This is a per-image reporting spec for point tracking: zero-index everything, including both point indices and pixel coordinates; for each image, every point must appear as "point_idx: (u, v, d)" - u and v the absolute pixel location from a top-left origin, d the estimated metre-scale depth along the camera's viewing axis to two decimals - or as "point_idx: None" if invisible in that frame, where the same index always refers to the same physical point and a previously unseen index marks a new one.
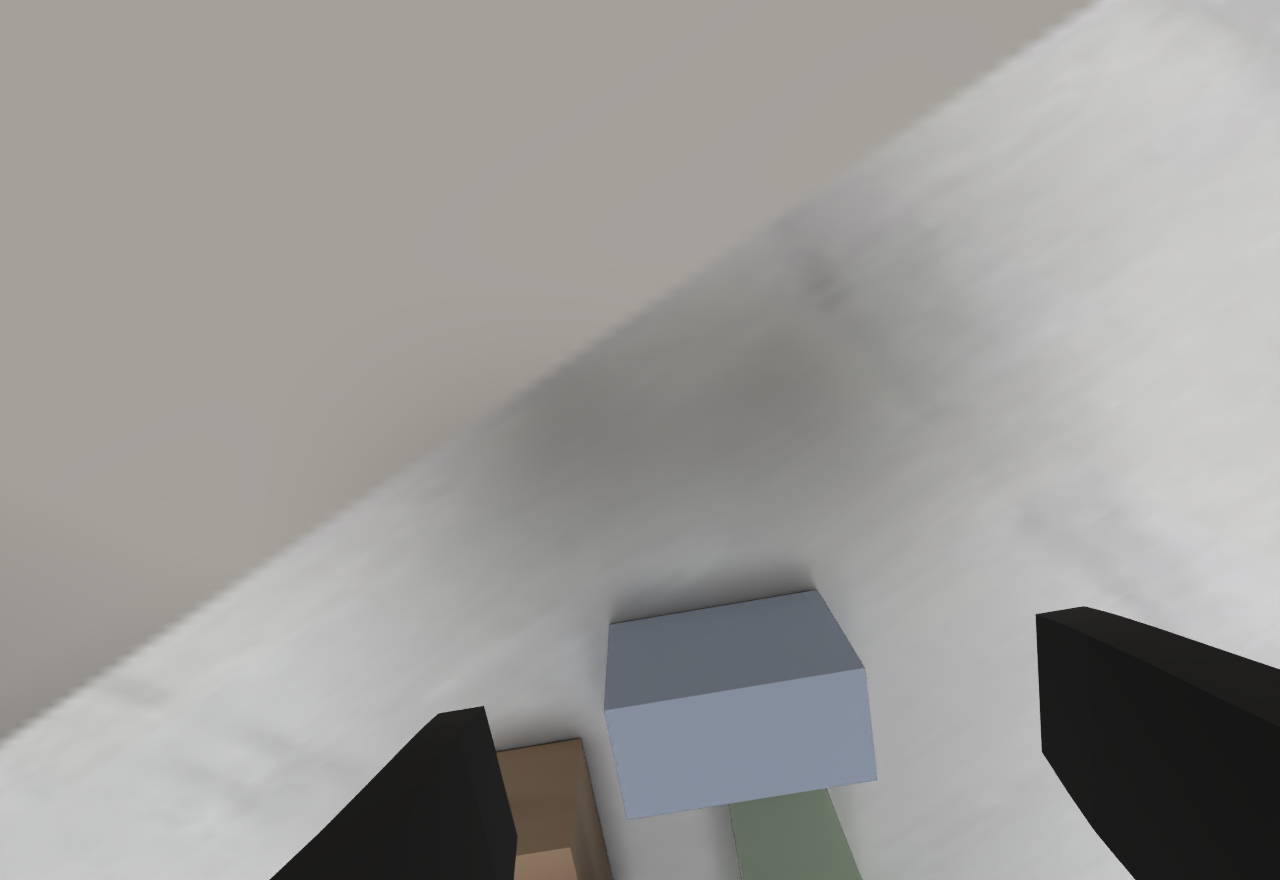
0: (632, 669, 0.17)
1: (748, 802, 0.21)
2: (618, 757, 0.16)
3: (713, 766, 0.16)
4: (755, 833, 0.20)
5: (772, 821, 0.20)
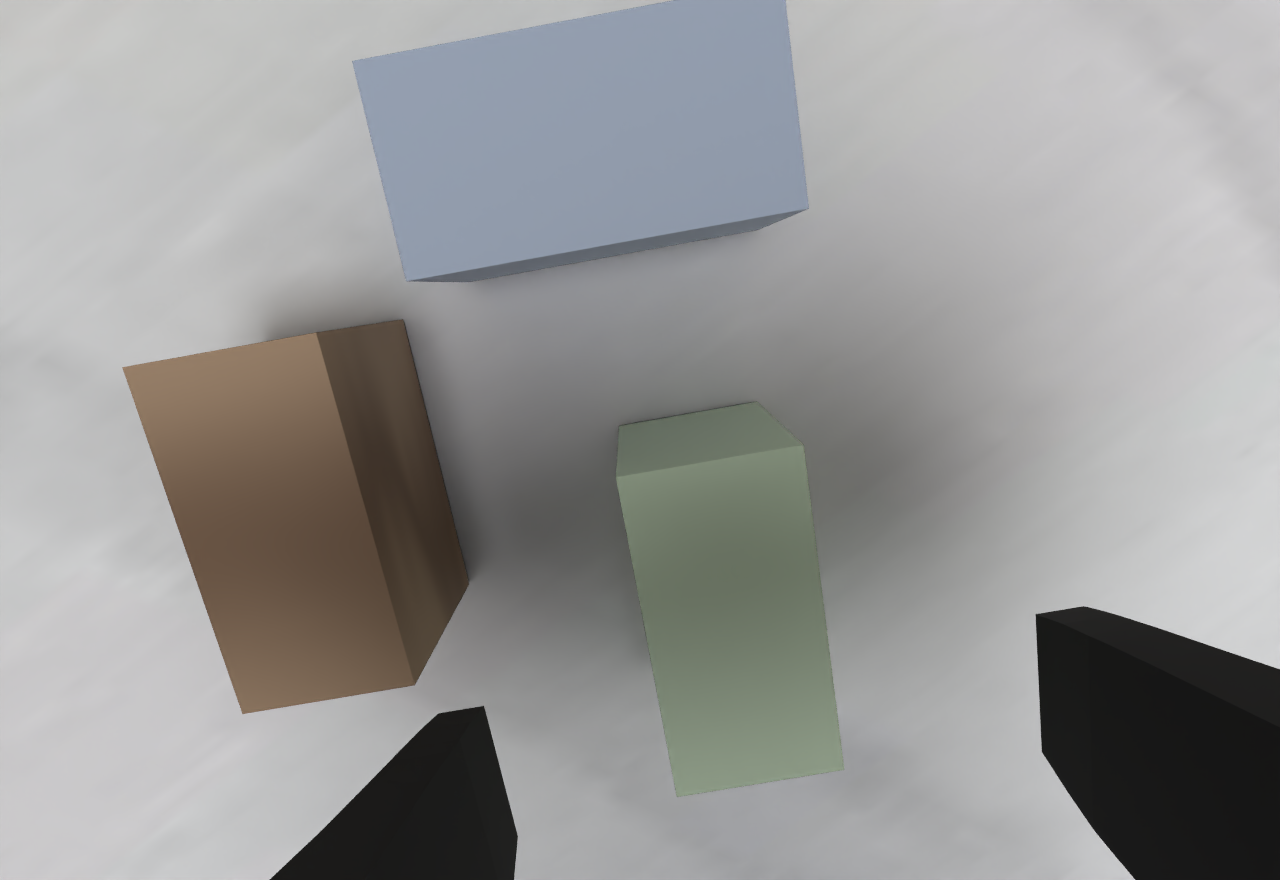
0: None
1: (646, 422, 0.14)
2: (382, 155, 0.10)
3: (541, 176, 0.10)
4: (647, 434, 0.13)
5: (675, 426, 0.14)
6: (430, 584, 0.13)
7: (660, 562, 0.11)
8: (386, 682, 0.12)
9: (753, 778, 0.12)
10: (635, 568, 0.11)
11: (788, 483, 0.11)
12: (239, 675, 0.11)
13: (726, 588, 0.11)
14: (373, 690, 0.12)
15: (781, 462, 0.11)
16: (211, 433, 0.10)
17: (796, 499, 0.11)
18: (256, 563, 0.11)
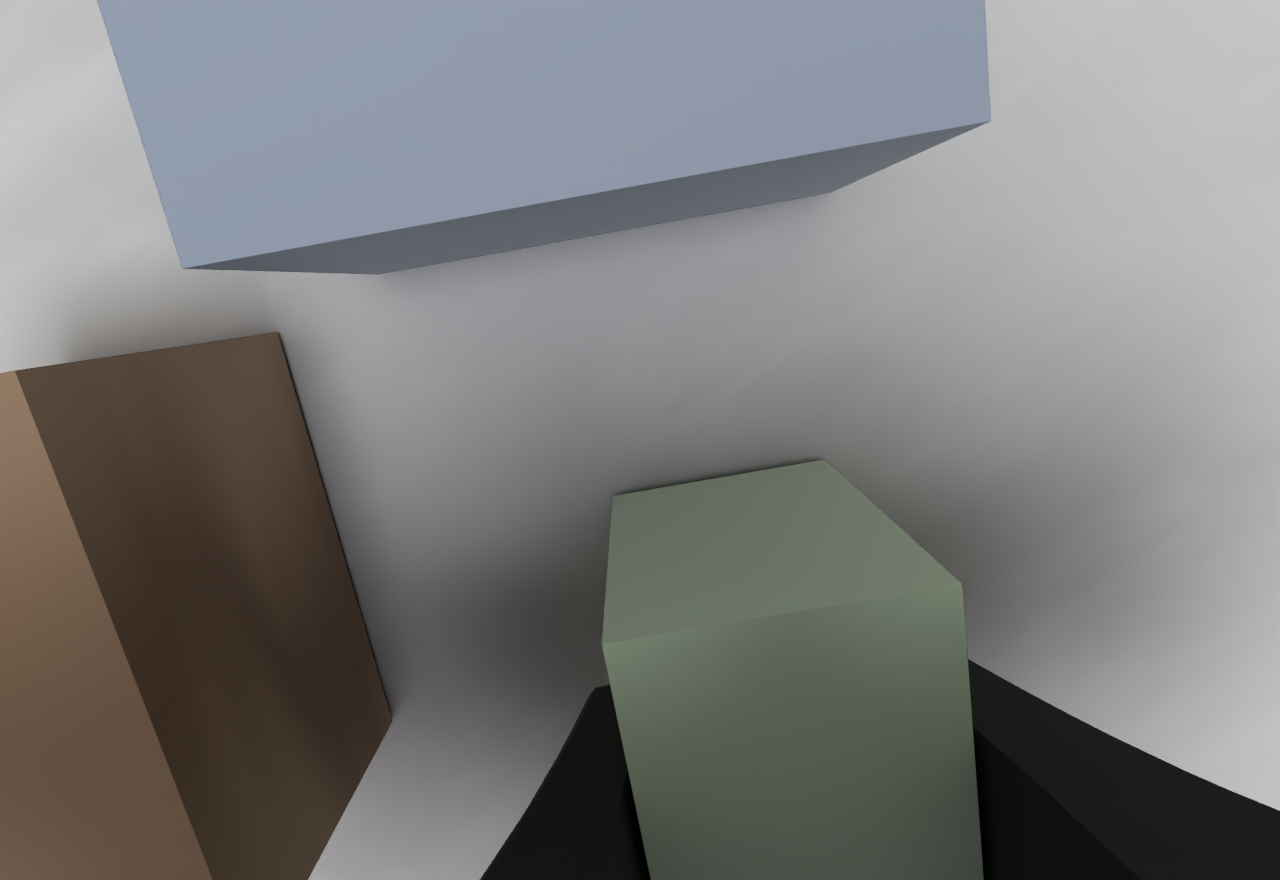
0: None
1: (655, 491, 0.09)
2: (112, 4, 0.05)
3: (444, 51, 0.05)
4: (658, 522, 0.08)
5: (702, 505, 0.09)
6: (308, 764, 0.08)
7: (685, 791, 0.06)
8: None
9: None
10: (639, 803, 0.06)
11: (929, 655, 0.06)
12: None
13: (805, 834, 0.06)
14: None
15: (917, 615, 0.06)
16: None
17: (942, 681, 0.06)
18: None
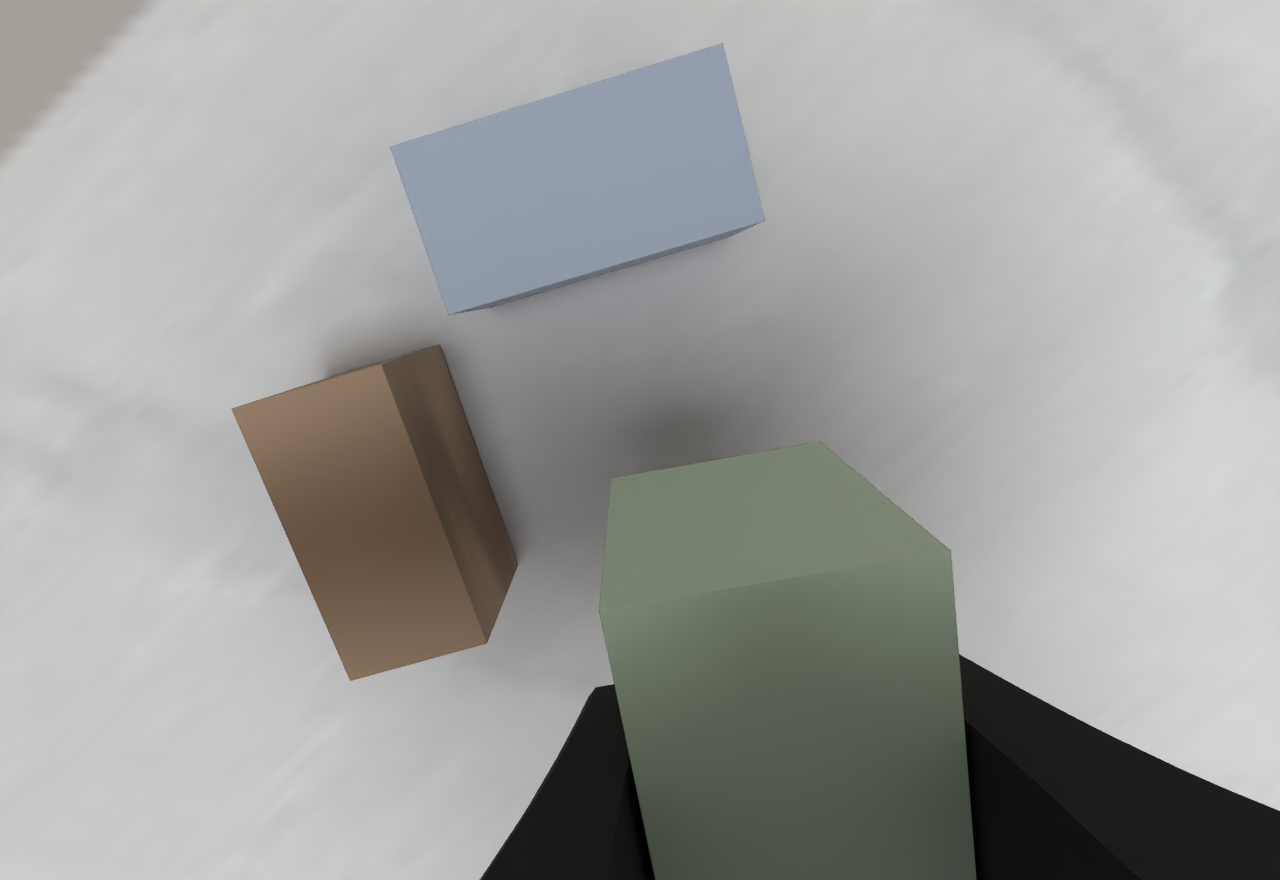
0: None
1: (652, 473, 0.10)
2: (420, 217, 0.12)
3: (547, 220, 0.12)
4: (655, 500, 0.08)
5: (698, 485, 0.09)
6: (488, 563, 0.16)
7: (681, 757, 0.06)
8: (463, 643, 0.14)
9: None
10: (636, 767, 0.06)
11: (919, 621, 0.06)
12: (345, 649, 0.14)
13: (799, 800, 0.06)
14: (454, 651, 0.14)
15: (906, 581, 0.06)
16: (305, 454, 0.13)
17: (932, 647, 0.06)
18: (350, 555, 0.14)
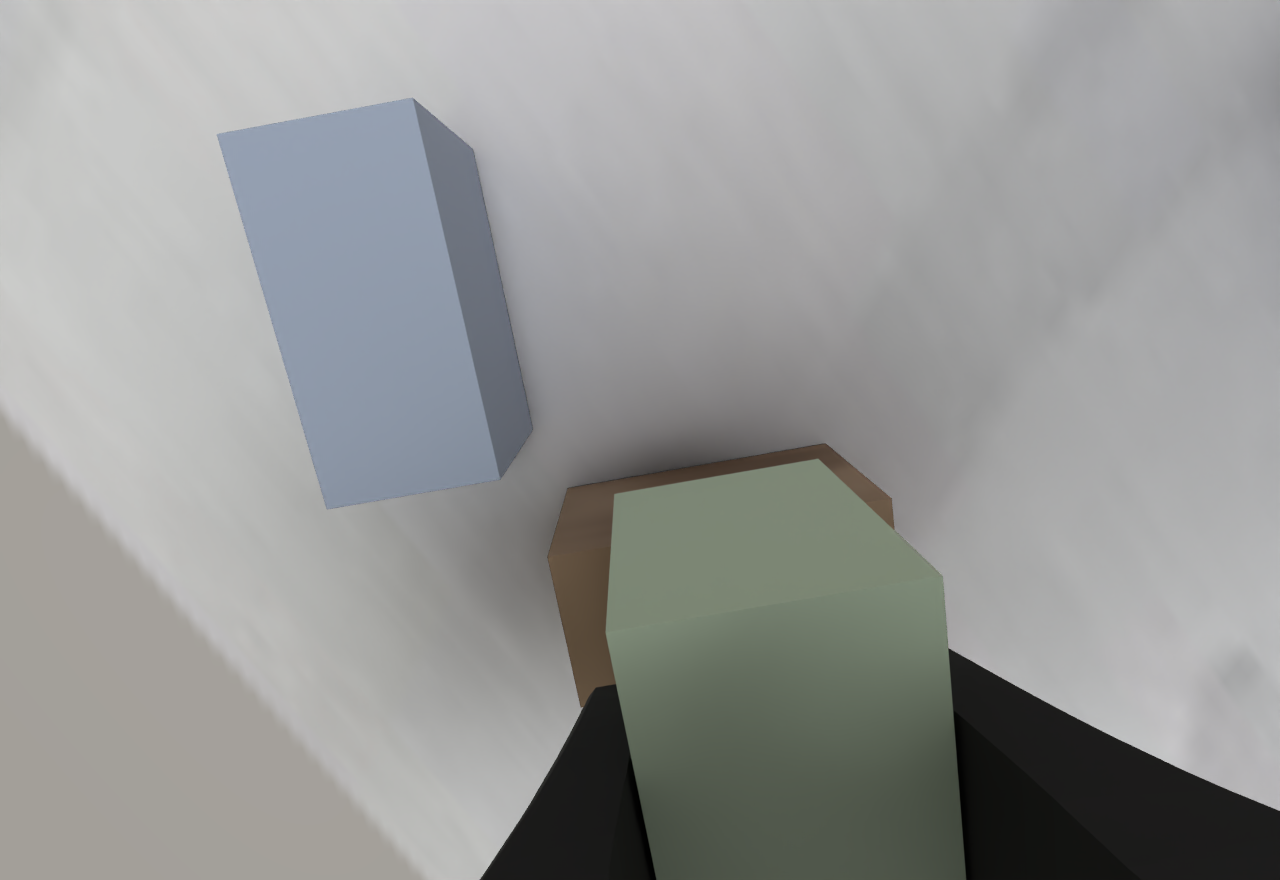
0: None
1: (655, 490, 0.10)
2: (396, 491, 0.11)
3: (403, 358, 0.11)
4: (658, 518, 0.09)
5: (699, 502, 0.09)
6: None
7: (683, 772, 0.06)
8: None
9: None
10: (640, 782, 0.06)
11: (912, 642, 0.06)
12: None
13: (796, 813, 0.06)
14: None
15: (901, 606, 0.06)
16: None
17: (925, 668, 0.06)
18: None
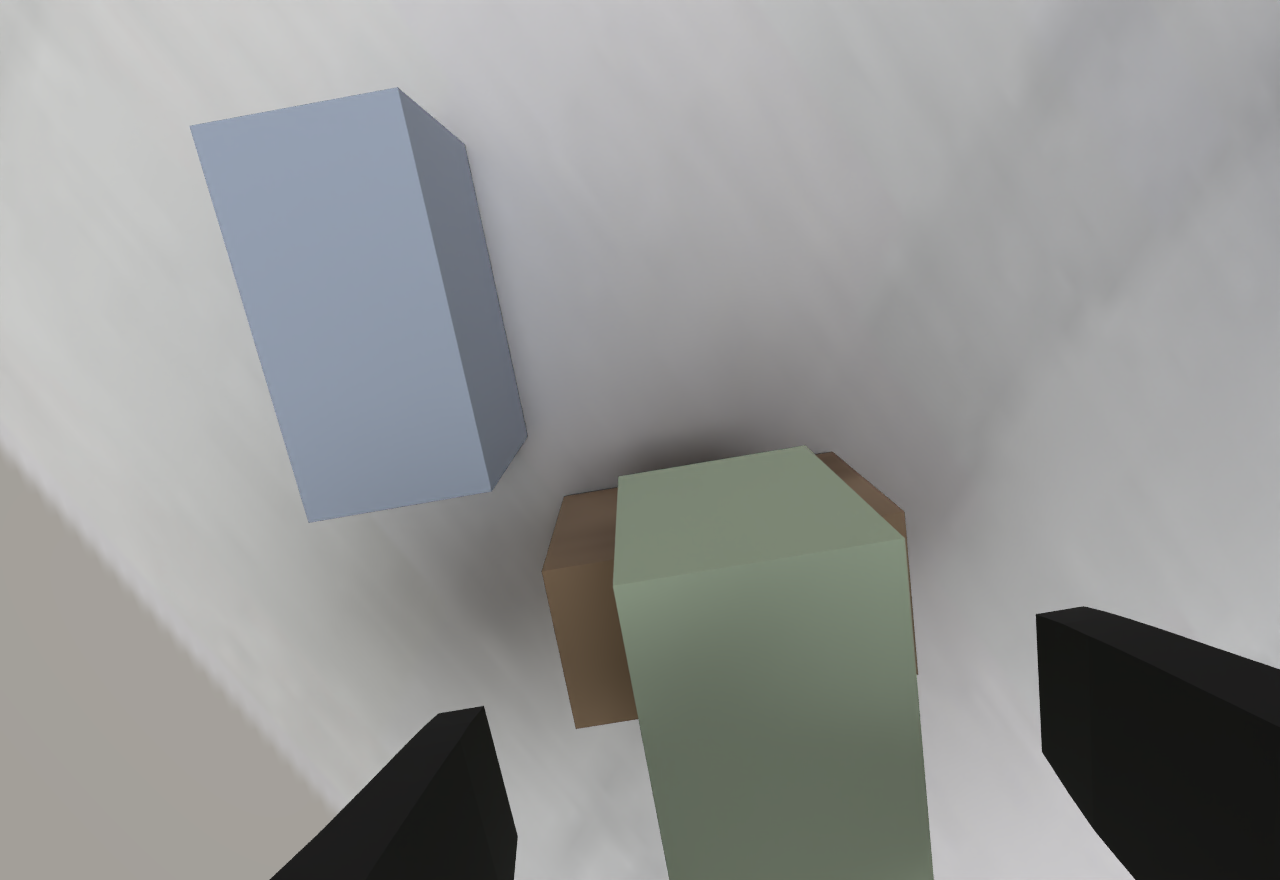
0: None
1: (655, 472, 0.11)
2: (382, 503, 0.11)
3: (389, 363, 0.10)
4: (658, 496, 0.10)
5: (696, 482, 0.10)
6: None
7: (680, 710, 0.07)
8: None
9: None
10: (642, 719, 0.07)
11: (879, 596, 0.07)
12: None
13: (779, 748, 0.07)
14: (907, 551, 0.11)
15: (868, 564, 0.07)
16: None
17: (890, 619, 0.07)
18: None
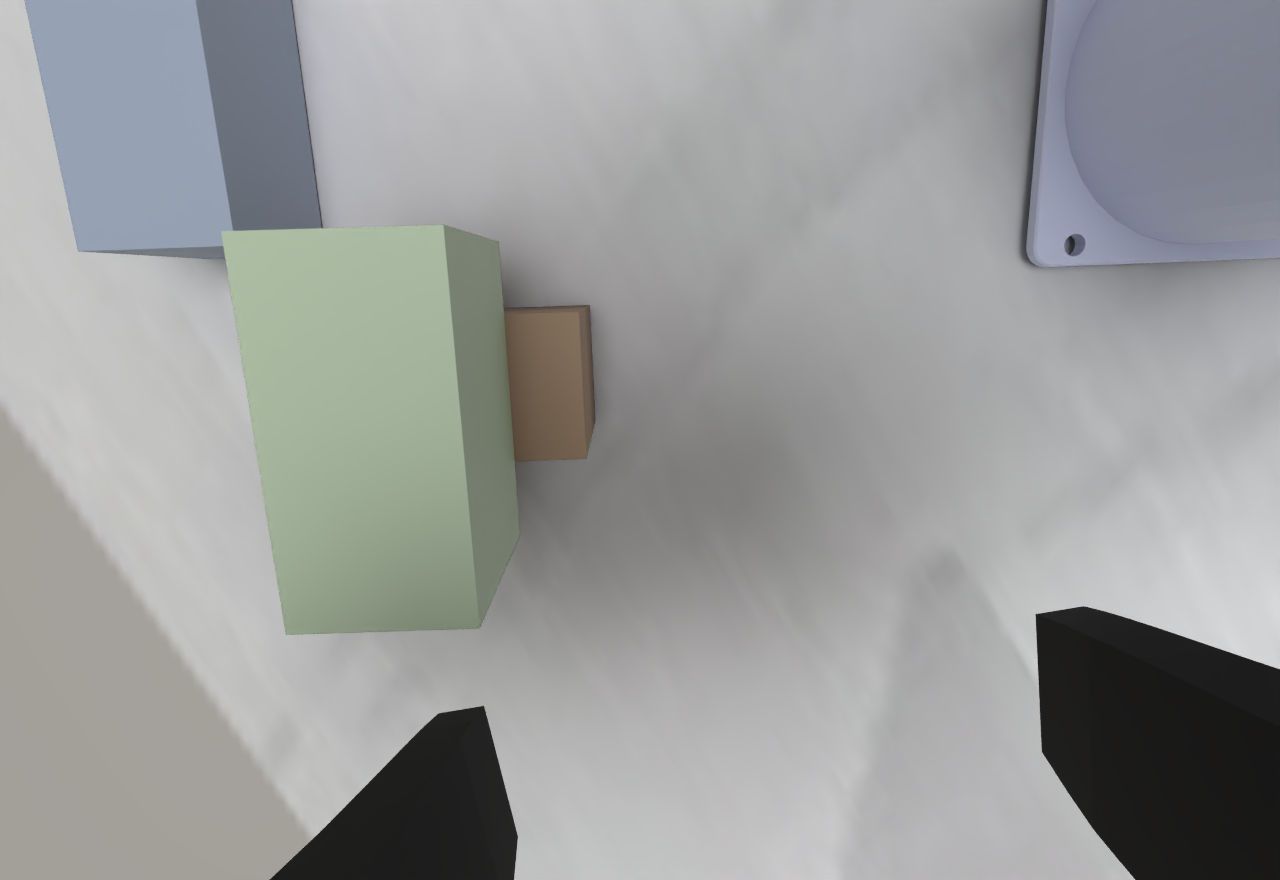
0: None
1: None
2: (142, 243, 0.13)
3: (155, 120, 0.13)
4: None
5: None
6: None
7: (272, 344, 0.10)
8: (573, 335, 0.14)
9: (373, 623, 0.10)
10: (242, 347, 0.10)
11: (424, 271, 0.09)
12: (551, 451, 0.14)
13: (348, 388, 0.10)
14: (581, 347, 0.14)
15: (416, 241, 0.09)
16: None
17: (433, 291, 0.09)
18: None
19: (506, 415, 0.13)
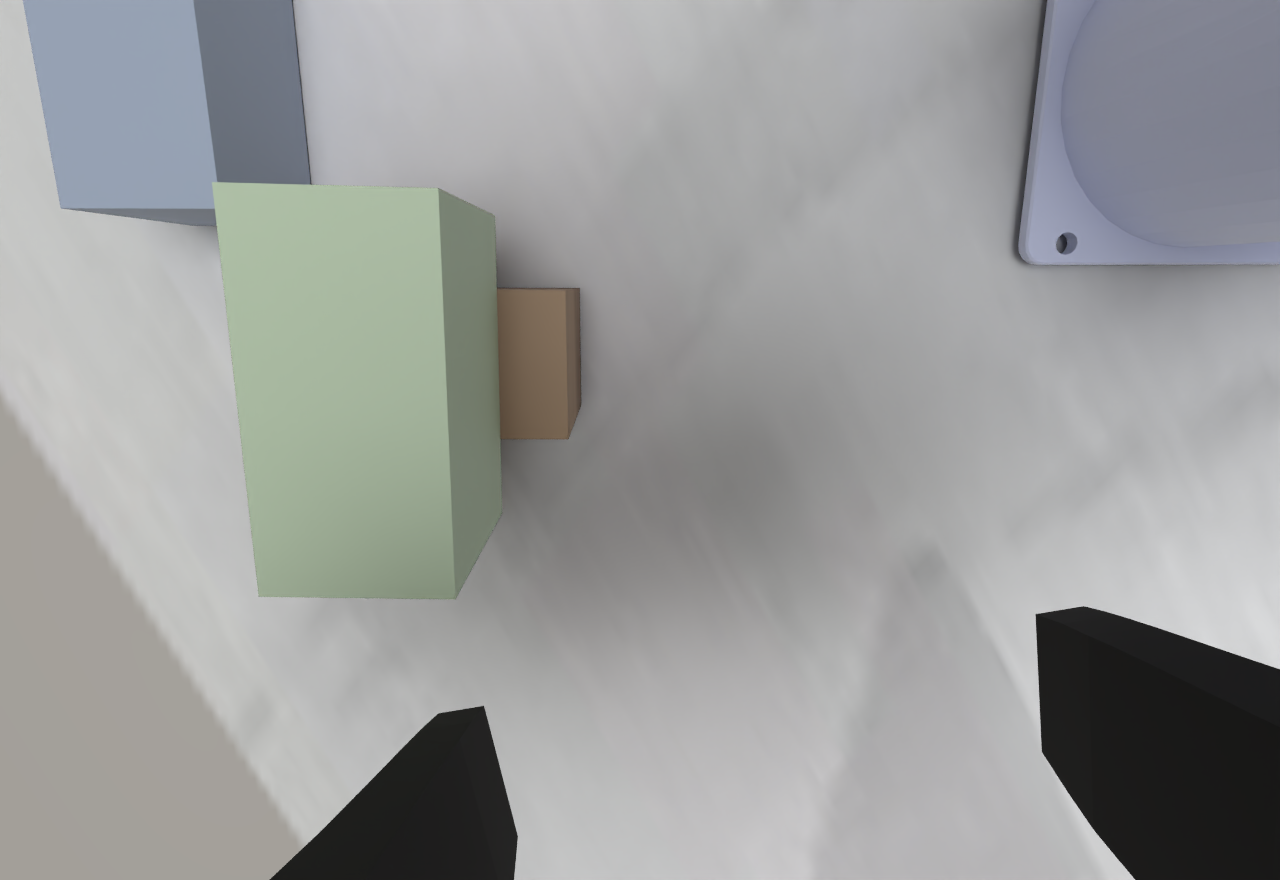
0: None
1: None
2: (126, 202, 0.13)
3: (143, 78, 0.12)
4: None
5: None
6: None
7: (259, 300, 0.09)
8: (559, 313, 0.13)
9: (348, 589, 0.10)
10: (227, 302, 0.09)
11: (416, 234, 0.09)
12: (532, 430, 0.14)
13: (333, 349, 0.10)
14: (566, 327, 0.14)
15: (410, 204, 0.09)
16: None
17: (425, 255, 0.09)
18: None
19: (494, 390, 0.13)
